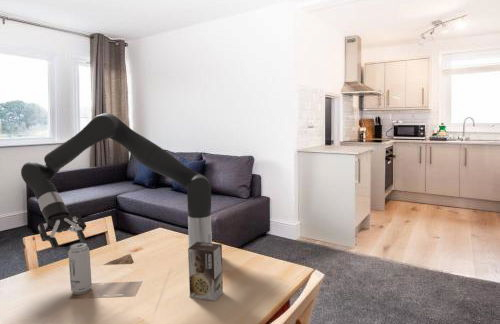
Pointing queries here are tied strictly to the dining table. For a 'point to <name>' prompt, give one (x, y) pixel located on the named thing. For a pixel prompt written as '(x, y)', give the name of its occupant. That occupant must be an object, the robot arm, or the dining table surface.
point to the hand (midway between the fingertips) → (70, 244)
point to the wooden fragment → (121, 260)
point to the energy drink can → (80, 268)
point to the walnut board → (110, 290)
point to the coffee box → (205, 270)
